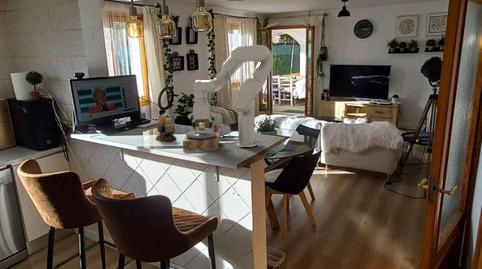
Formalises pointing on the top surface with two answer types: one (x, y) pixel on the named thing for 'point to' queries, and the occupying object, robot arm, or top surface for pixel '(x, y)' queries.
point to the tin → (222, 129)
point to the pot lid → (201, 133)
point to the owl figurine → (165, 129)
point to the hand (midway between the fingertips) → (202, 128)
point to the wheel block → (200, 144)
